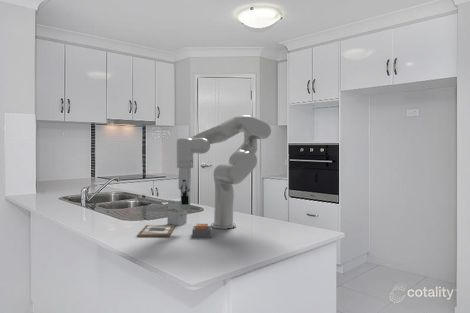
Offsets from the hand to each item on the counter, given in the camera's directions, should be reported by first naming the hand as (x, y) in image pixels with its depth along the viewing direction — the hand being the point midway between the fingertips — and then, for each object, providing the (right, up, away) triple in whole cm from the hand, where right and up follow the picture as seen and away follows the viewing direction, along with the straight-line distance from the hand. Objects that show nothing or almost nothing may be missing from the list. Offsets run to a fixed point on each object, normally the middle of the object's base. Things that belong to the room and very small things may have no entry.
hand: (185, 203), depth 170 cm
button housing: (+8, -14, -7) cm, 17 cm away
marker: (0, -2, 0) cm, 2 cm away
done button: (+8, -12, -7) cm, 16 cm away
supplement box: (-7, -13, +18) cm, 23 cm away
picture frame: (-13, -13, -2) cm, 19 cm away
